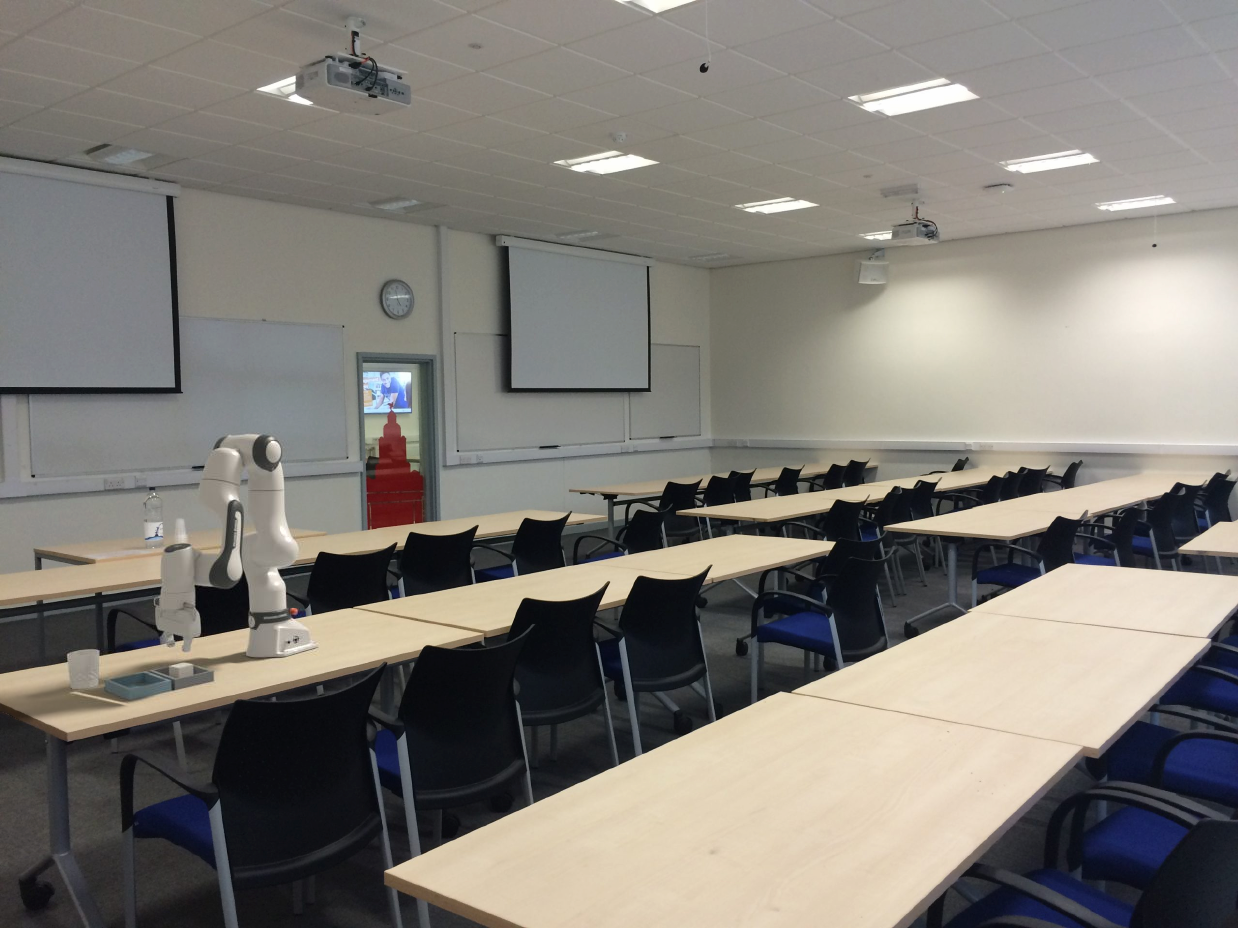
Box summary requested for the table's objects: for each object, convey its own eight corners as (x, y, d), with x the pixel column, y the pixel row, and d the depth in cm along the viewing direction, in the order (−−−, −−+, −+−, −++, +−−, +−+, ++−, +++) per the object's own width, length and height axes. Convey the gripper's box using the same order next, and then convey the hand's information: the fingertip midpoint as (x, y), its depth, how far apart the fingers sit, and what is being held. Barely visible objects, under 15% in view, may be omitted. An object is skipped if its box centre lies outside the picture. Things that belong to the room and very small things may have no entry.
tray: (187, 673, 272) (187, 662, 271) (214, 682, 261) (213, 670, 261) (149, 682, 263) (149, 670, 263) (175, 691, 253) (174, 679, 253)
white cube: (183, 677, 265) (183, 662, 265) (193, 679, 263) (193, 664, 263) (169, 681, 261) (168, 666, 261) (179, 683, 259) (178, 667, 259)
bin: (145, 683, 262) (145, 671, 262) (171, 692, 252) (171, 680, 252) (105, 692, 254) (104, 679, 254) (129, 702, 244) (129, 689, 243)
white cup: (64, 692, 254) (63, 657, 254) (73, 684, 262) (72, 650, 261) (96, 689, 256) (94, 654, 256) (104, 682, 264) (102, 648, 263)
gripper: (206, 603, 257) (206, 652, 257) (173, 595, 270) (173, 642, 270) (184, 606, 252) (184, 656, 252) (151, 598, 265) (151, 646, 265)
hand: (178, 649), depth 261 cm, fingers open, 8 cm apart
